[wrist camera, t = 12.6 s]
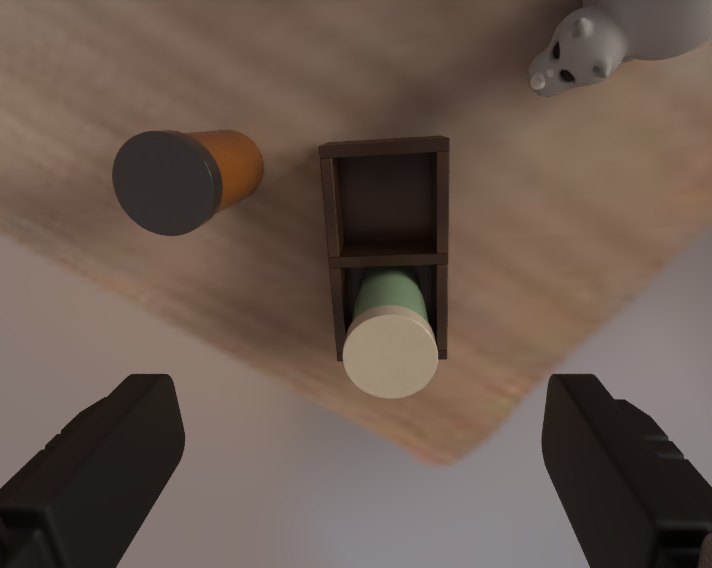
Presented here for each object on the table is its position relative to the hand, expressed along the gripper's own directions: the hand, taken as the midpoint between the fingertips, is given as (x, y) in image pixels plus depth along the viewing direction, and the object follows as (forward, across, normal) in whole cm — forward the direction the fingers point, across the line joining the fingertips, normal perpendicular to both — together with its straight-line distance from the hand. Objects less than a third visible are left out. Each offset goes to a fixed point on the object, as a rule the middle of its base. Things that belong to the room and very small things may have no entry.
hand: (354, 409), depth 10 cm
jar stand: (+27, -1, +4) cm, 27 cm away
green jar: (+26, -1, +8) cm, 27 cm away
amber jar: (+27, +11, -3) cm, 29 cm away
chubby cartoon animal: (+27, -14, -10) cm, 32 cm away
